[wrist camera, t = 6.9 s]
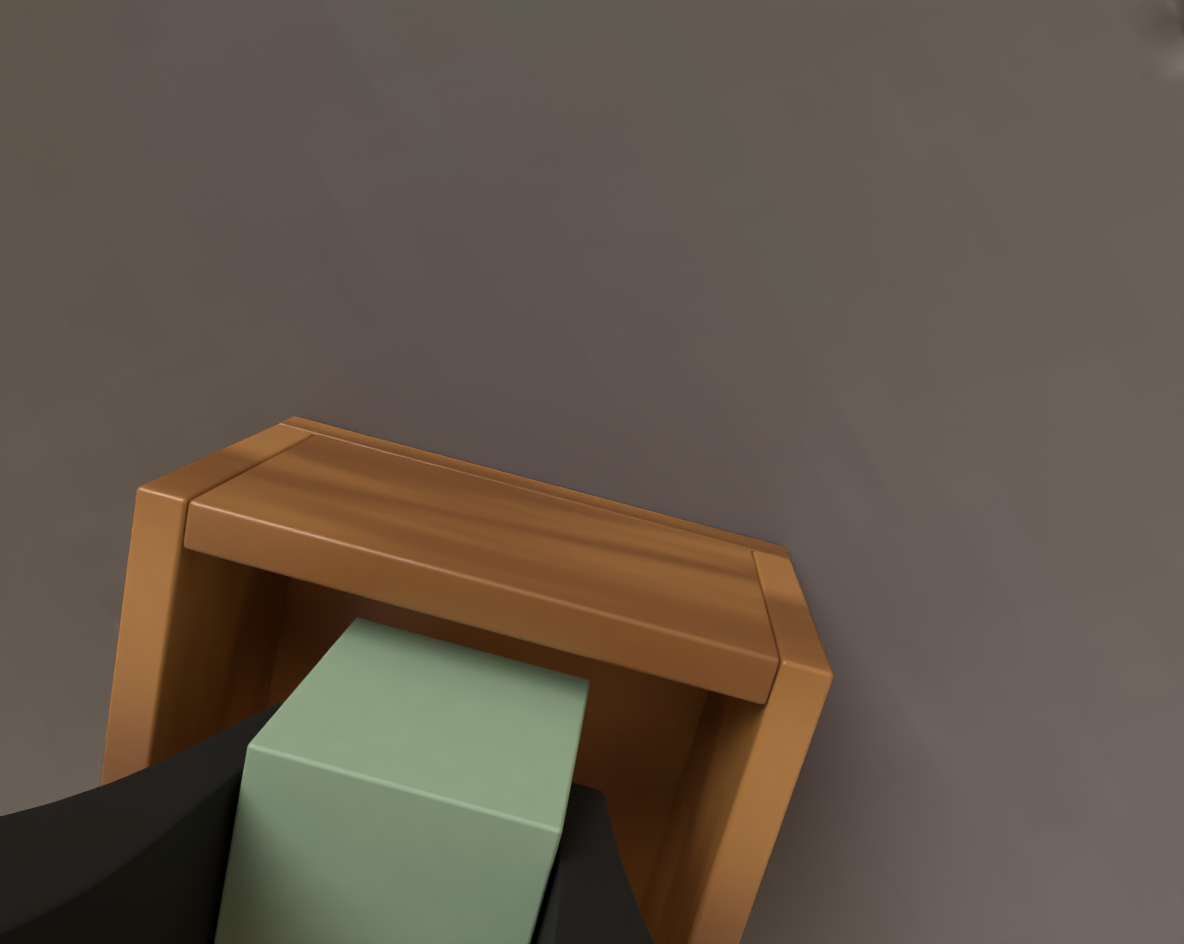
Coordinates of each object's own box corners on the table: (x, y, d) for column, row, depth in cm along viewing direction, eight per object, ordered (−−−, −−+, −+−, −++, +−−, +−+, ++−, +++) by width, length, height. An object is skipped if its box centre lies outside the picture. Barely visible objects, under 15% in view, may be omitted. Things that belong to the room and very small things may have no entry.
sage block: (316, 819, 16) (201, 1003, 12) (356, 615, 15) (246, 744, 11) (535, 880, 16) (492, 1084, 12) (591, 679, 15) (562, 831, 11)
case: (293, 415, 19) (134, 485, 13) (786, 546, 19) (835, 674, 13) (225, 821, 22) (68, 1023, 16) (658, 941, 21) (653, 1189, 16)
